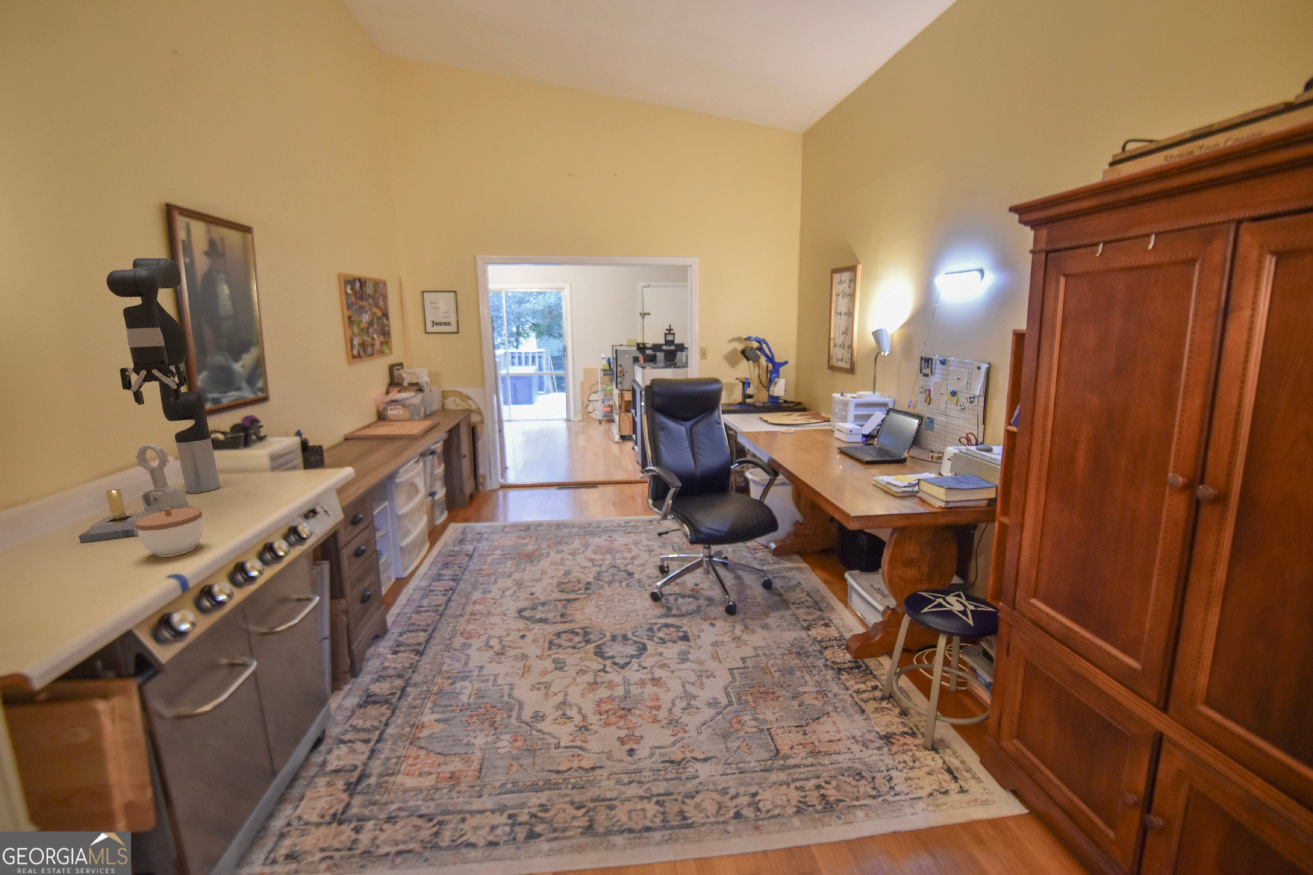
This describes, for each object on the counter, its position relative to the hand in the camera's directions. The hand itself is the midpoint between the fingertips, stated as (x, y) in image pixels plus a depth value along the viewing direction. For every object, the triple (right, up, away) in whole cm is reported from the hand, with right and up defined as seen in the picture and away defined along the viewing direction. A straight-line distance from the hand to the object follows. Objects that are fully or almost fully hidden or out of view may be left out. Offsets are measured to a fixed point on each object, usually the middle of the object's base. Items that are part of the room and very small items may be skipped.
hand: (159, 403), depth 166 cm
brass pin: (-4, -36, -7) cm, 36 cm away
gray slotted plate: (-1, -35, -6) cm, 36 cm away
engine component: (-7, -32, +11) cm, 35 cm away
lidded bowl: (+23, -38, -22) cm, 50 cm away
